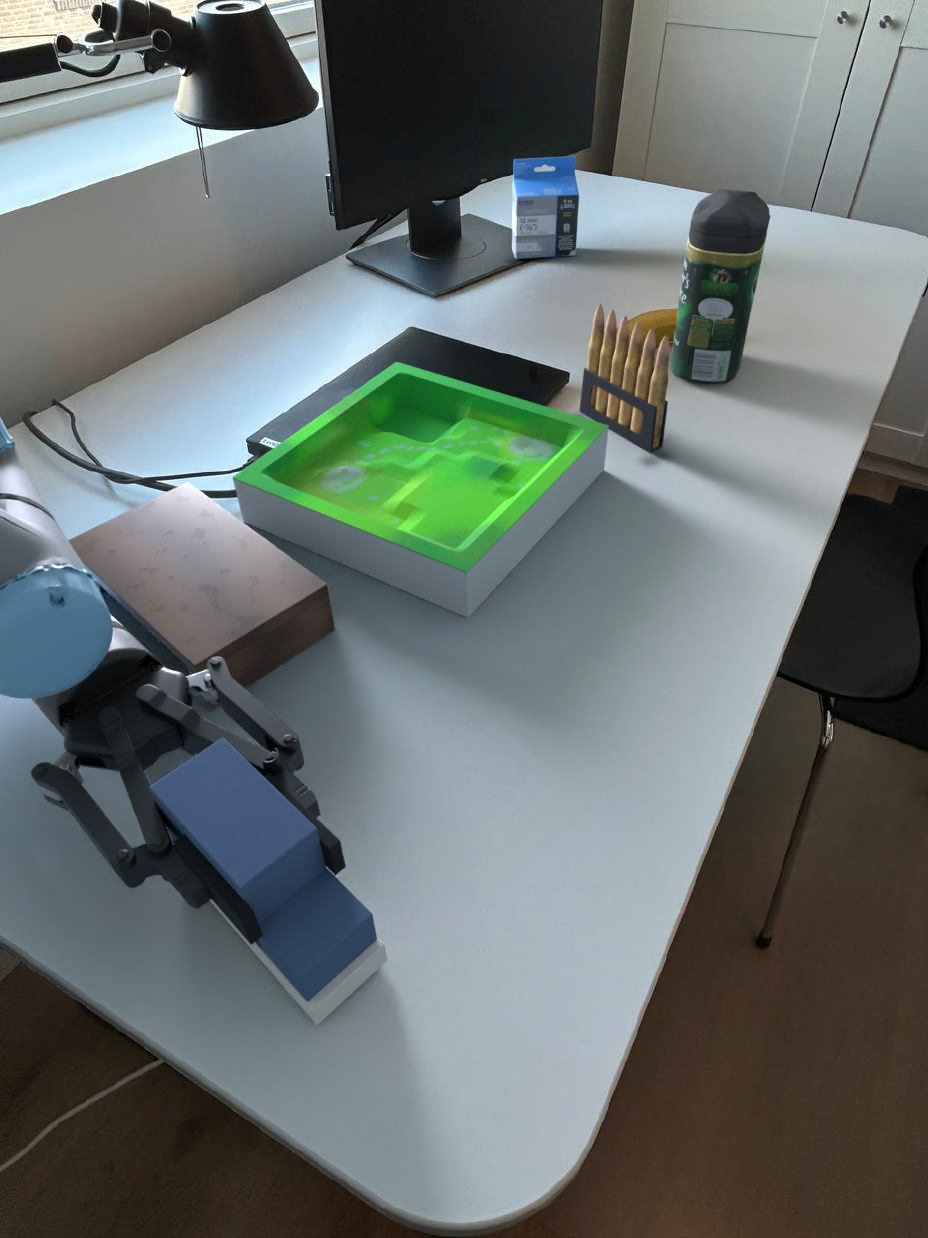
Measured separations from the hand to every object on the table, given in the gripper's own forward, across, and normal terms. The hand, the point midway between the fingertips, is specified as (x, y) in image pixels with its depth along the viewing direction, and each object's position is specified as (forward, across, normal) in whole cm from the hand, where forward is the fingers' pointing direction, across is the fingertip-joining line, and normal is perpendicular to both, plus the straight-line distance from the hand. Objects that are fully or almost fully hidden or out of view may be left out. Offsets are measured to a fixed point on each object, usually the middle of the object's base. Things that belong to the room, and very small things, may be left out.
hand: (295, 891), depth 47 cm
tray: (-28, -36, -7) cm, 46 cm away
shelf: (-30, -12, -7) cm, 33 cm away
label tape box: (-59, -88, -7) cm, 106 cm away
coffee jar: (-23, -75, -7) cm, 79 cm away
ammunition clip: (-22, -58, -7) cm, 63 cm away
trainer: (-3, 0, -6) cm, 7 cm away
